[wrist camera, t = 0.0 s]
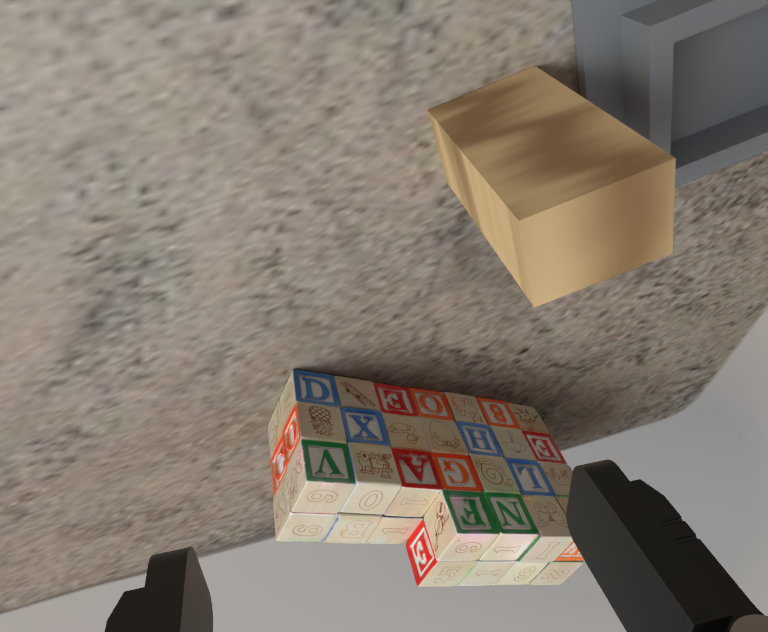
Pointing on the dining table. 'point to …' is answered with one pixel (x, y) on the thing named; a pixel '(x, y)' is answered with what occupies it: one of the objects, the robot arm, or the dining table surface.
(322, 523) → the stack of blocks
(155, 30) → the dining table surface
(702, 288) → the dining table surface
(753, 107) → the grey socket base
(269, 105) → the dining table surface
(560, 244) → the wooden block
